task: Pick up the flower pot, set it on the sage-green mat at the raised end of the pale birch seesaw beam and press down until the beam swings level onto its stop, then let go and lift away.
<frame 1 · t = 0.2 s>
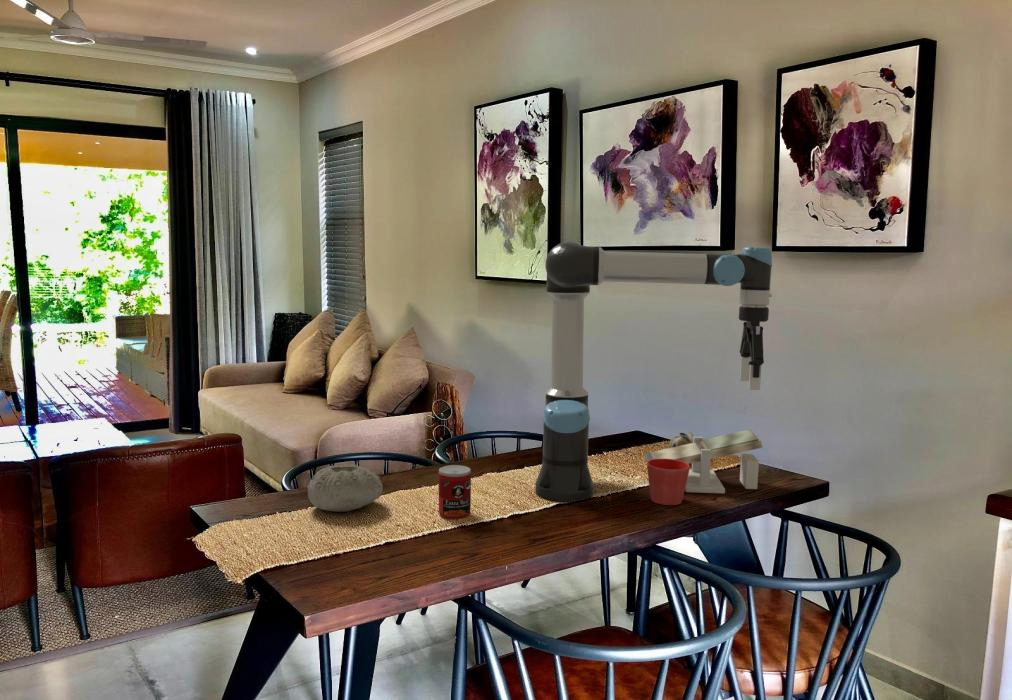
hand: (749, 385, 217), 28 cm above the table, fingers open, 13 cm apart
decorative shell: (345, 507, 198), on the table
flower pot: (666, 501, 207), on the table
canned food: (454, 514, 194), on the table
stand: (700, 482, 223), on the table
beam: (701, 450, 222), point 9 cm above the table, hinge at -15.0°
ceramic sculpture: (680, 460, 247), on the table
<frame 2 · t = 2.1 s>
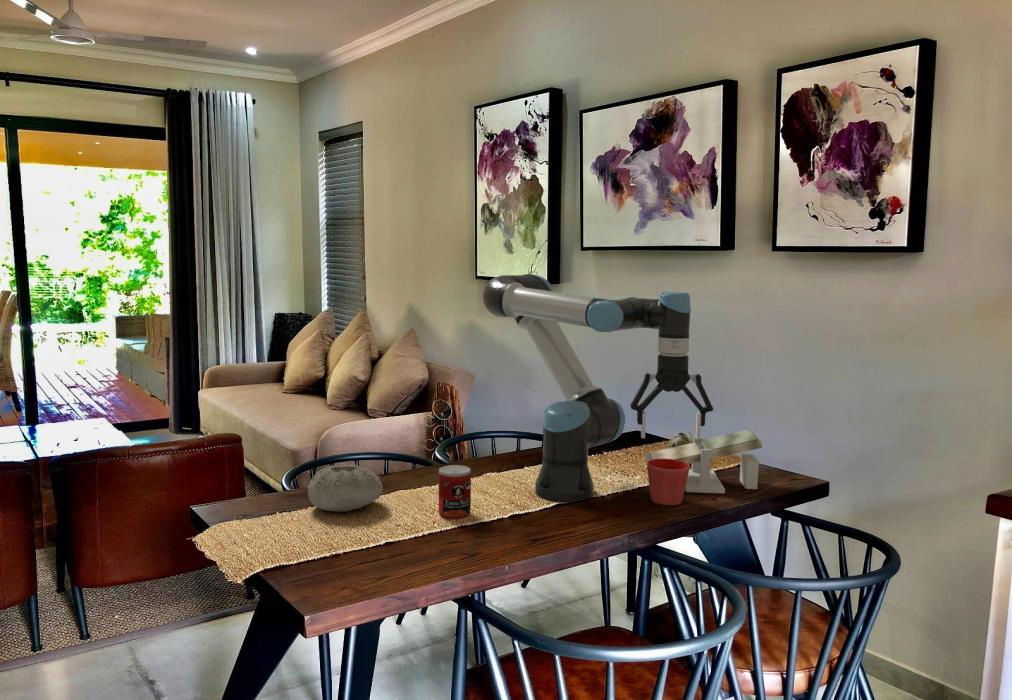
hand: (670, 438, 205), 16 cm above the table, fingers open, 13 cm apart
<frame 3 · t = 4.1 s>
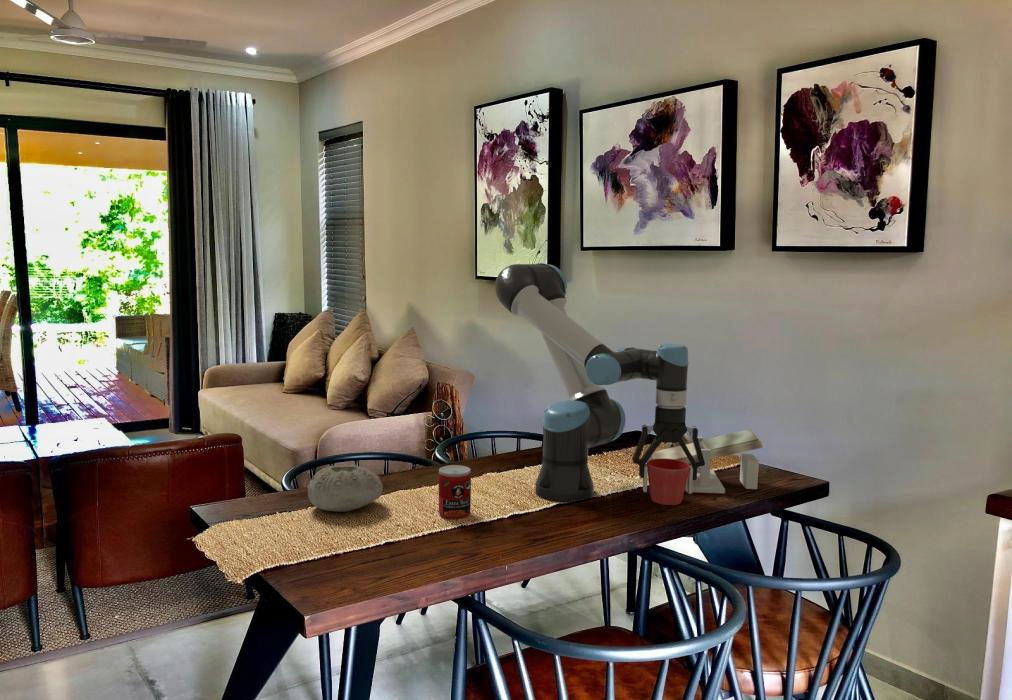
hand: (667, 491, 207), 2 cm above the table, fingers closed on flower pot, 10 cm apart
flower pot: (666, 501, 207), on the table, touching gripper
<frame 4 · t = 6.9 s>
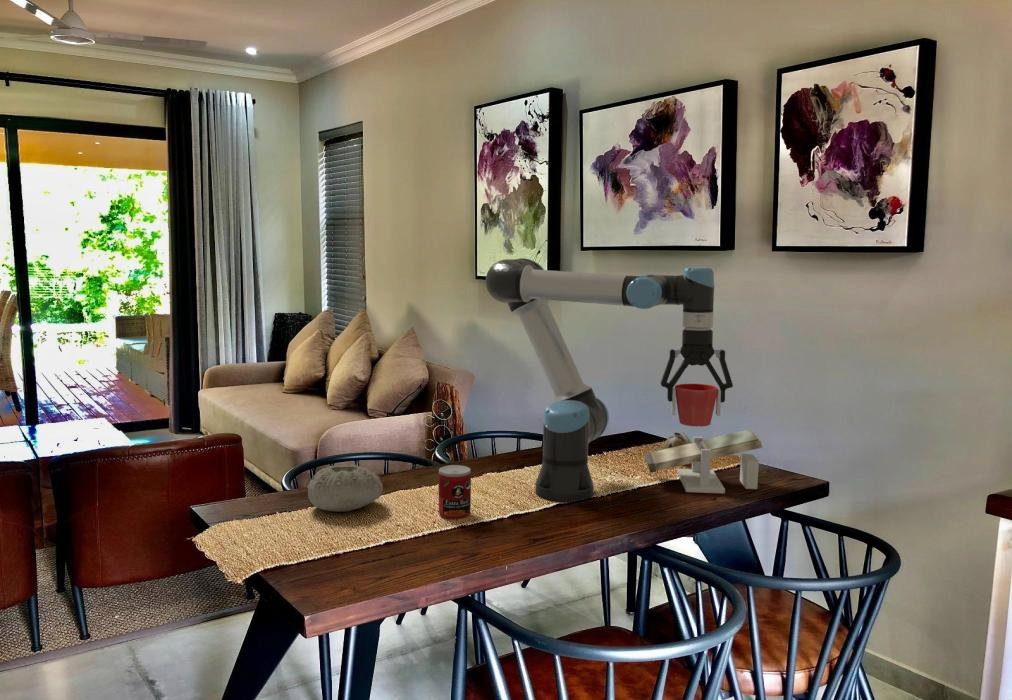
hand: (695, 414, 209), 21 cm above the table, fingers closed on flower pot, 10 cm apart
flower pot: (695, 424, 209), point 19 cm above the table, touching gripper
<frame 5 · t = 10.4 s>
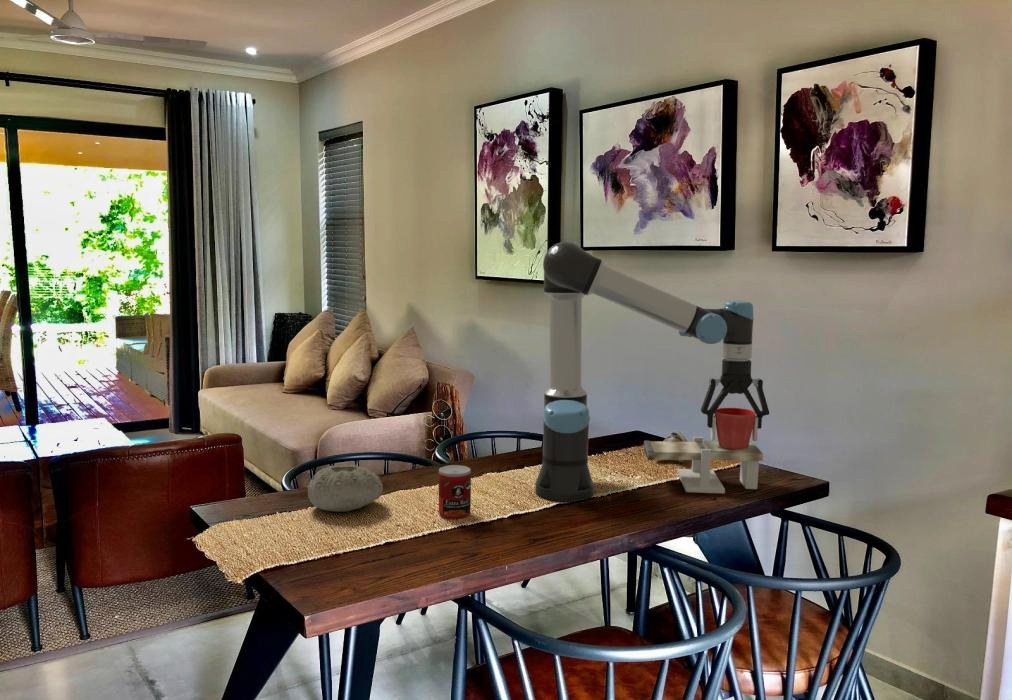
hand: (733, 439, 221), 12 cm above the table, fingers closed on flower pot, 10 cm apart
flower pot: (733, 446, 221), point 10 cm above the table, touching beam, gripper
beam: (701, 450, 222), point 9 cm above the table, hinge at -1.4°, touching flower pot
when the fingers open (12 cm above the table, at t = 11.7 s): flower pot stays where it is, resting on beam.
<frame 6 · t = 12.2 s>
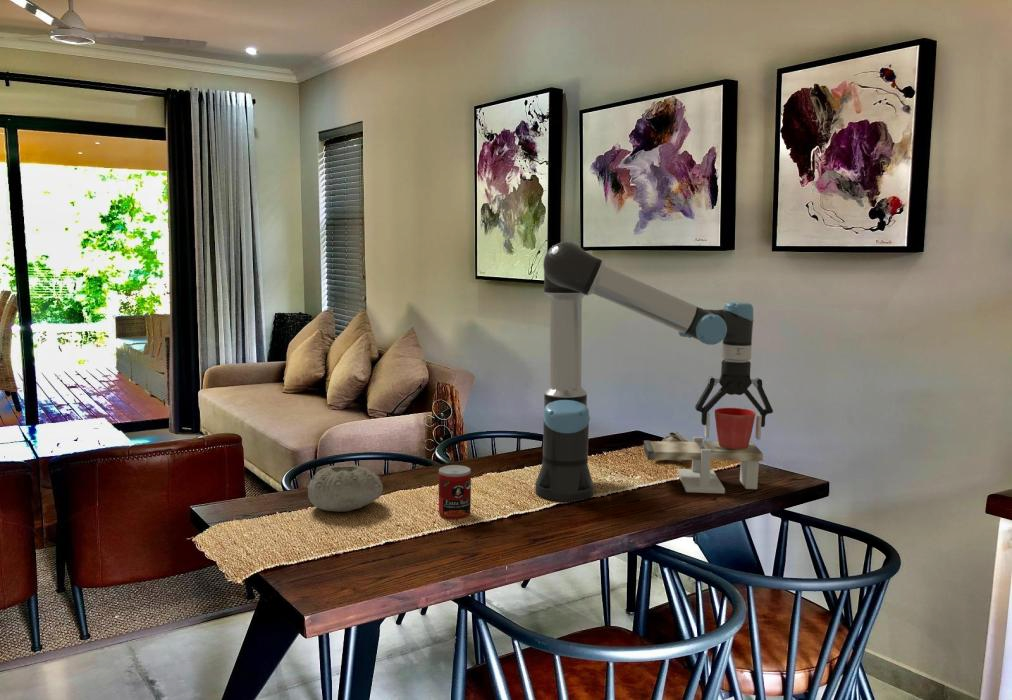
hand: (732, 437, 221), 13 cm above the table, fingers open, 13 cm apart
flower pot: (733, 446, 221), point 10 cm above the table, touching beam
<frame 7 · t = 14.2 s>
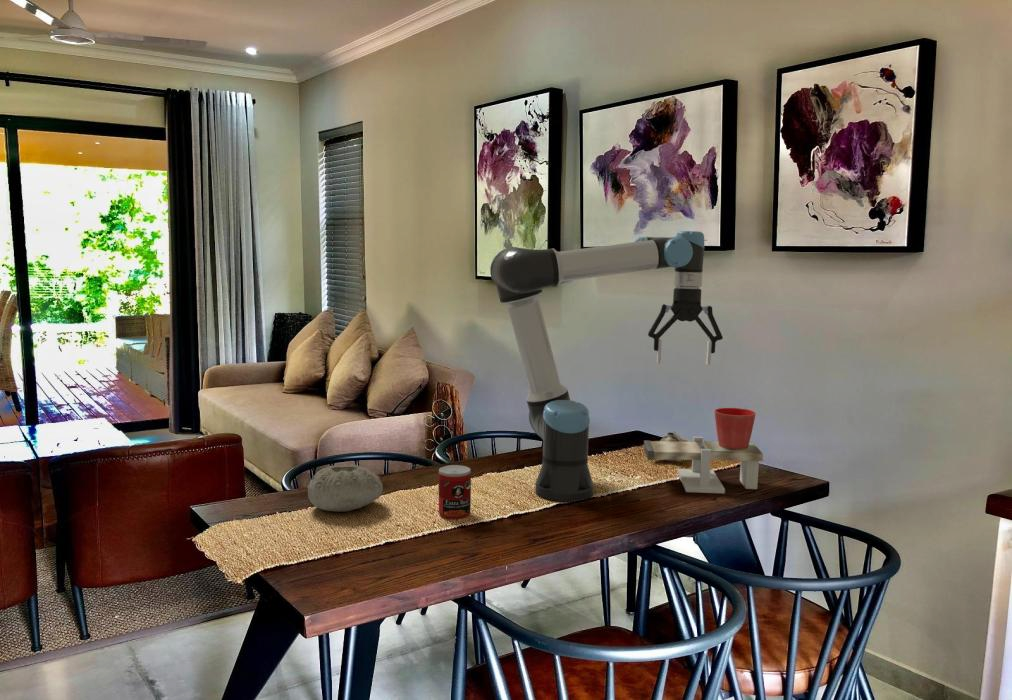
hand: (683, 363, 227), 32 cm above the table, fingers open, 13 cm apart
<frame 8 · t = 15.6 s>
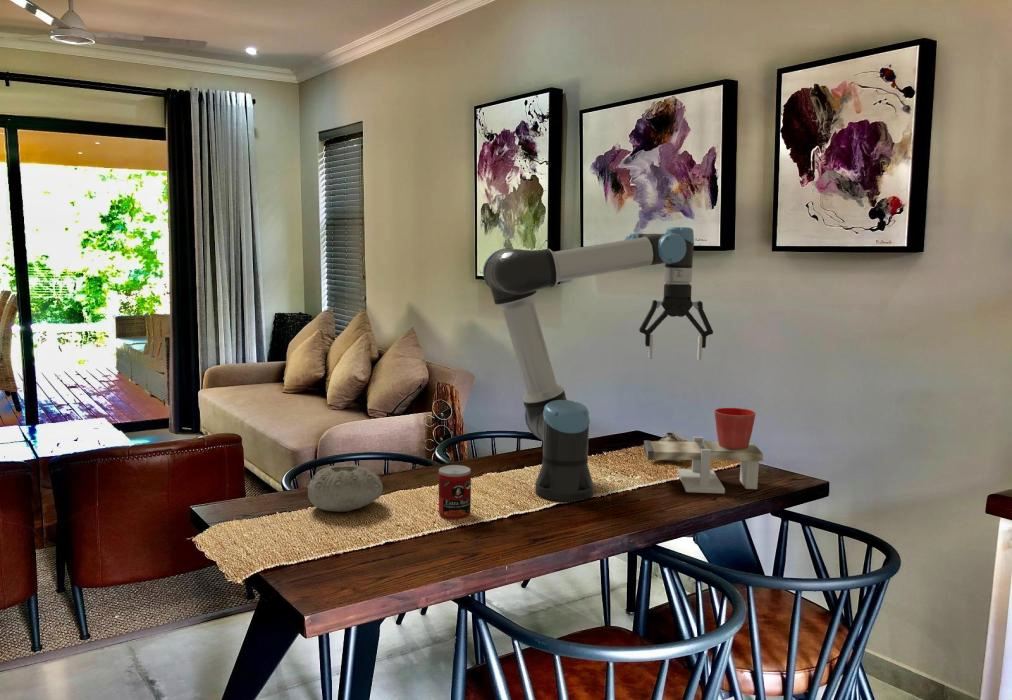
hand: (674, 358, 229), 33 cm above the table, fingers open, 13 cm apart
at the end: beam at -1° (first picture: -15°); flower pot inside the target area on the beam (0.5 cm from its centre), point 1.4 cm above the beam's base; the gripper is holding nothing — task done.
